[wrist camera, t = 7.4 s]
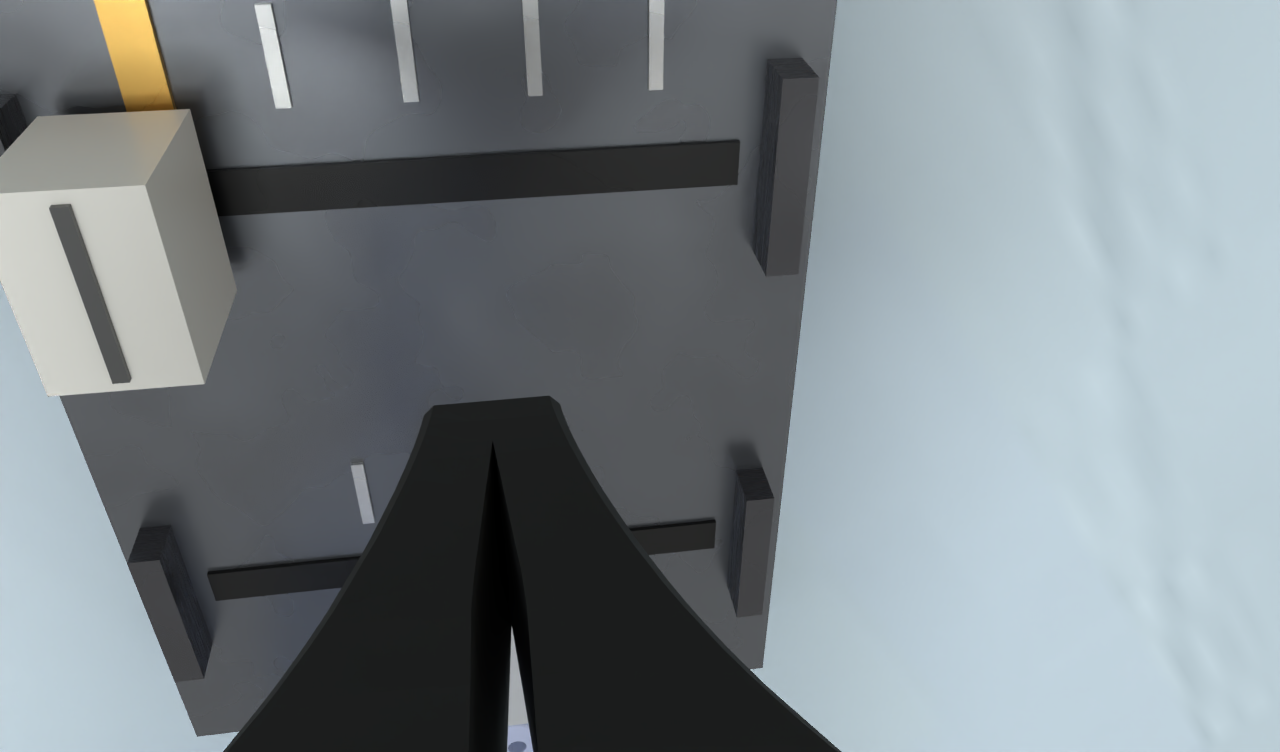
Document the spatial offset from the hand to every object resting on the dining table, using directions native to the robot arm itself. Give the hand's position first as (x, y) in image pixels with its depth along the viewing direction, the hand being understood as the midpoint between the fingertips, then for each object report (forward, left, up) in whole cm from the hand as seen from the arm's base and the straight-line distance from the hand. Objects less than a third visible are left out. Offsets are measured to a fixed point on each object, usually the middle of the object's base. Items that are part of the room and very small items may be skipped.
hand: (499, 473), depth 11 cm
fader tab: (0, +5, -7) cm, 9 cm away
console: (-4, +1, -10) cm, 11 cm away
